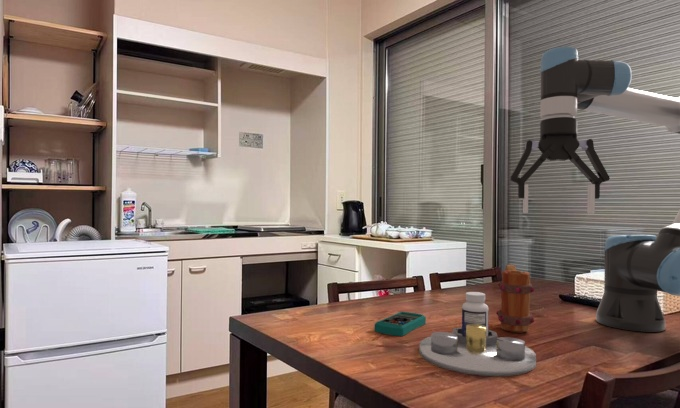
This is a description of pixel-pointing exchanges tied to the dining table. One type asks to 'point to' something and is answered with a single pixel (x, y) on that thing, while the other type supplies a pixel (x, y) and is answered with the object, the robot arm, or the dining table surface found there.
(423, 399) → the dining table surface
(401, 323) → the digital multimeter
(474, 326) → the carrier
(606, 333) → the dining table surface
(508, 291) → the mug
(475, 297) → the pill bottle
